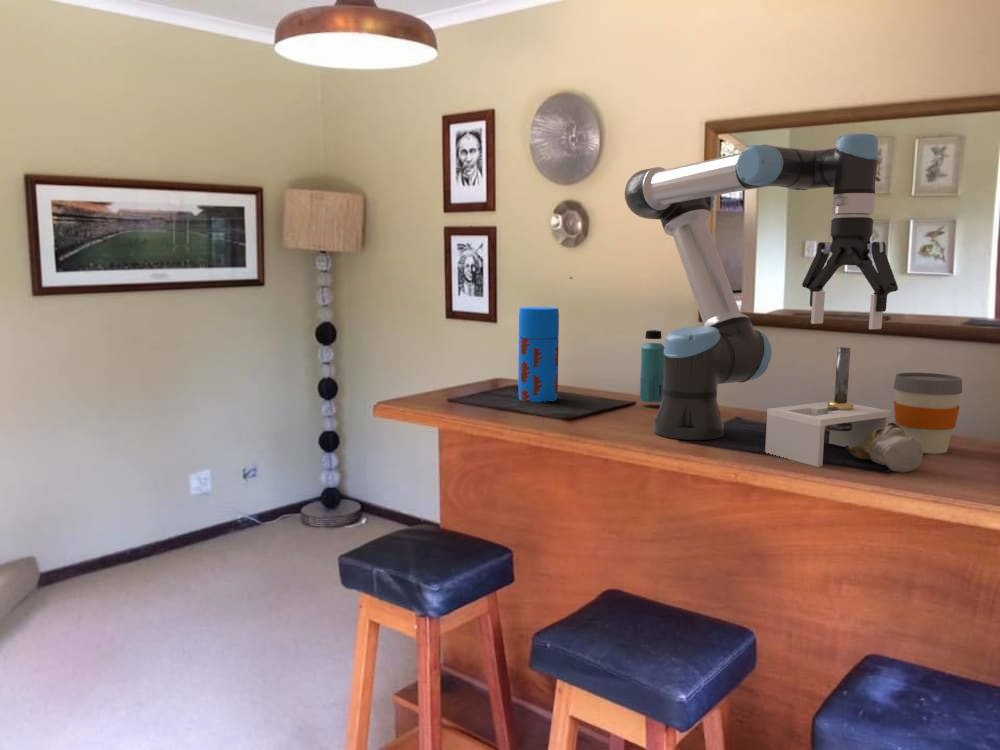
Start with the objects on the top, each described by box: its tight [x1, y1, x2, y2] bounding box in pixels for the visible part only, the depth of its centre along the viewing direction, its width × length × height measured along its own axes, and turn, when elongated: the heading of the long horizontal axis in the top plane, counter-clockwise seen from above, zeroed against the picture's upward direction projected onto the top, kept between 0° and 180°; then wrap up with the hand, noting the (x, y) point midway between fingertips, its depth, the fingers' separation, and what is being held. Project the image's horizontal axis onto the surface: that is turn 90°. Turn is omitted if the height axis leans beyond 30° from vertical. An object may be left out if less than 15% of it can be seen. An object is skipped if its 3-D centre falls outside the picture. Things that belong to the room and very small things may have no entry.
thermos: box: [517, 306, 560, 403], centre depth 228 cm, size 11×11×25 cm
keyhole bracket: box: [764, 401, 891, 468], centre depth 166 cm, size 20×13×9 cm, turn 119°
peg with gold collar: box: [825, 346, 855, 431], centre depth 167 cm, size 5×5×16 cm
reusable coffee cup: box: [893, 372, 963, 454], centre depth 171 cm, size 13×13×15 cm
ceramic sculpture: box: [844, 422, 924, 474], centre depth 157 cm, size 11×9×15 cm
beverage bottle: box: [639, 329, 665, 404], centre depth 218 cm, size 6×7×20 cm
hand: (844, 326), depth 165 cm, fingers open, 13 cm apart
